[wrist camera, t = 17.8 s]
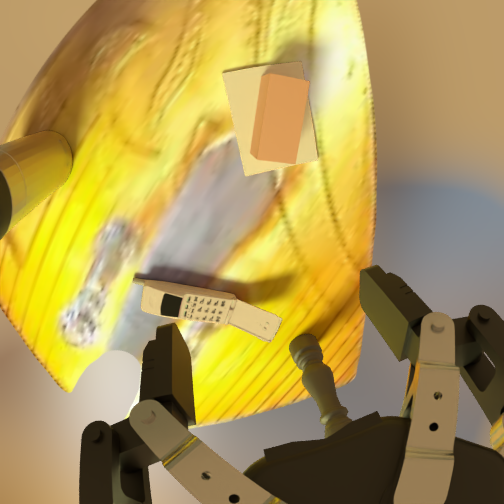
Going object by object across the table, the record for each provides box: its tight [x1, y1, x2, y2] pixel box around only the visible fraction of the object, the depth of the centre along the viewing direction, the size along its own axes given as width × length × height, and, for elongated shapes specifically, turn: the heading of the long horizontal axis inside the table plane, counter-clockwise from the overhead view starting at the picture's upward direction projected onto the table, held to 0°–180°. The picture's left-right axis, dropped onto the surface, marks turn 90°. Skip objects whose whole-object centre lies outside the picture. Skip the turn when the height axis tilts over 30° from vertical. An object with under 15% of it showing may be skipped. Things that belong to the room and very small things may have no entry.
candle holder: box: [289, 334, 352, 438], centre depth 50 cm, size 6×6×25 cm
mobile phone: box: [133, 278, 282, 342], centre depth 49 cm, size 6×6×25 cm
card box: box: [250, 73, 310, 164], centre depth 36 cm, size 11×5×5 cm, turn 171°
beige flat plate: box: [222, 61, 318, 176], centre depth 38 cm, size 11×15×1 cm
